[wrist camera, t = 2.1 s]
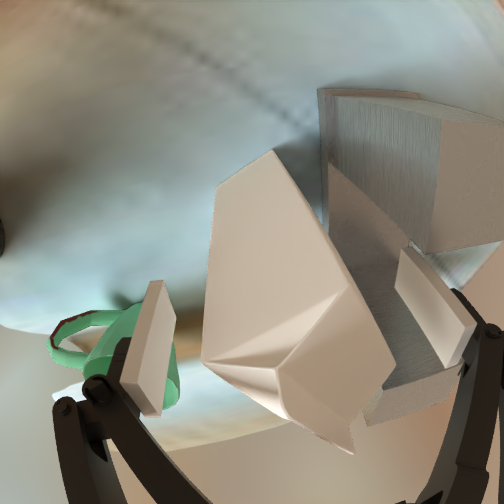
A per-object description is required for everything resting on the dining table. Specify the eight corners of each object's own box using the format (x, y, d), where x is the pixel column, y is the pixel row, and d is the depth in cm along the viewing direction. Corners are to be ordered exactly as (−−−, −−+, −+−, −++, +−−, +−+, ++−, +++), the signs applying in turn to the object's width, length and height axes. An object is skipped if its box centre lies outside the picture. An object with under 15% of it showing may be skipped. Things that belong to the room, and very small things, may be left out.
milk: (271, 148, 25) (397, 356, 6) (307, 201, 28) (427, 421, 9) (214, 187, 26) (193, 441, 8) (253, 236, 29) (292, 477, 10)
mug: (195, 297, 33) (187, 371, 24) (180, 352, 37) (172, 419, 29) (70, 264, 29) (31, 326, 21) (74, 324, 34) (48, 384, 25)
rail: (317, 89, 22) (431, 105, 9) (407, 92, 22) (546, 128, 9) (320, 309, 35) (360, 430, 21) (389, 297, 35) (447, 401, 21)
